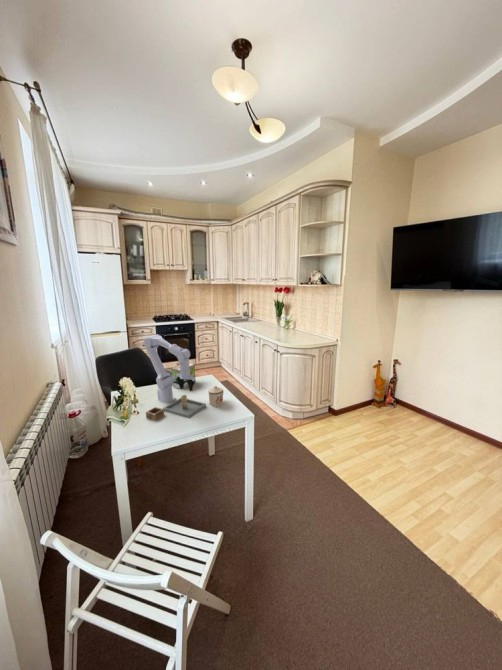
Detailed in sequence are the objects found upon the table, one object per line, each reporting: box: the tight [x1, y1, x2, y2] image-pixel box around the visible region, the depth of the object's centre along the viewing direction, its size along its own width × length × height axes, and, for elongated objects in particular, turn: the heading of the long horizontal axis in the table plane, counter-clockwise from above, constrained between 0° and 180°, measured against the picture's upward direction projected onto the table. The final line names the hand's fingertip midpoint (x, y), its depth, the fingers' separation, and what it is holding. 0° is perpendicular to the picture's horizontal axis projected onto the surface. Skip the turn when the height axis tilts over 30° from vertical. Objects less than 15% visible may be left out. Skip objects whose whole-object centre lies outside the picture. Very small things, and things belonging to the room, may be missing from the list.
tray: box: [162, 397, 207, 419], centre depth 164 cm, size 20×16×2 cm
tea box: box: [170, 363, 197, 390], centre depth 200 cm, size 15×10×15 cm
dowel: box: [180, 394, 188, 409], centre depth 163 cm, size 3×3×8 cm
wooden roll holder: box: [145, 406, 165, 421], centre depth 155 cm, size 7×7×4 cm
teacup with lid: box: [207, 385, 225, 407], centre depth 170 cm, size 12×9×12 cm
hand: (186, 389), depth 167 cm, fingers open, 7 cm apart
